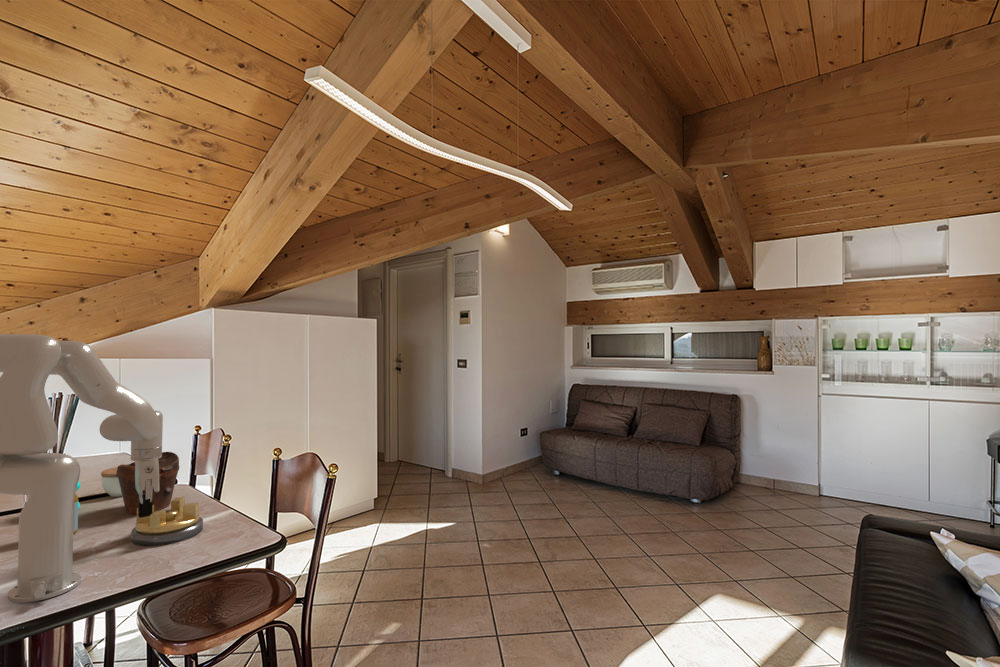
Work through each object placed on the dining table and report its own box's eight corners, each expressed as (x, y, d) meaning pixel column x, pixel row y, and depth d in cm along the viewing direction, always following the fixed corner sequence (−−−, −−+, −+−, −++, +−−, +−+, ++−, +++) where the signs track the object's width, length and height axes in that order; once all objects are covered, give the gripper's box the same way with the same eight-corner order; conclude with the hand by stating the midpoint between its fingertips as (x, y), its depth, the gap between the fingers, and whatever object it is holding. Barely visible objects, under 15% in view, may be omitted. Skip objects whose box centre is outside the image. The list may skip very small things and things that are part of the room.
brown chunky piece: (106, 521, 160) (108, 464, 160) (123, 502, 178) (125, 452, 179) (171, 514, 167) (173, 460, 168) (182, 497, 185) (184, 449, 186)
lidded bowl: (119, 488, 195) (119, 460, 195) (150, 489, 195) (150, 460, 195) (91, 498, 183) (92, 468, 183) (124, 499, 182) (125, 469, 182)
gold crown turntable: (185, 533, 144) (185, 512, 144) (123, 536, 141) (123, 515, 141) (207, 514, 159) (208, 495, 159) (152, 517, 157) (152, 497, 157)
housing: (209, 534, 150) (210, 514, 150) (136, 551, 137) (137, 529, 137) (194, 518, 163) (194, 500, 163) (126, 533, 150) (126, 513, 150)
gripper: (166, 455, 144) (164, 519, 143) (157, 447, 155) (156, 507, 154) (134, 459, 139) (132, 526, 138) (127, 450, 150) (126, 512, 149)
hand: (145, 515), depth 146 cm, fingers closed
